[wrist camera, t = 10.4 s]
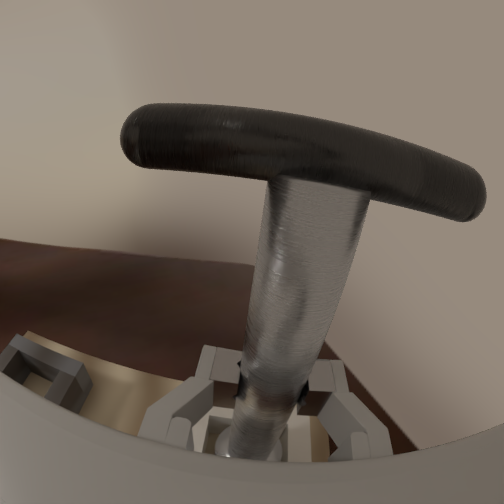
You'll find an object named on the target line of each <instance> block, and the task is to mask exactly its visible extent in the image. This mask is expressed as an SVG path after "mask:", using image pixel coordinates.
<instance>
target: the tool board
mask: <svg viewBox="0 0 504 504" xmlns="http://www.w3.org/2000/svg"><path fill="white" fill-rule="evenodd" d="M0 371H1V372H2V373H4V374H5V375H7V376H8V377H10V378H11V379H13V380H14V381H16V382H18V383H19V384H21V385H23V386H24V387H26V388H28V389H29V390H31V391H33V392H35V393H36V394H38V395H40V396H42V397H44V398H46V399H47V400H49V401H51V402H53V403H55V404H57V405H59V406H61V407H63V408H65V409H68V410H70V411H72V412H74V413H76V414H78V415H81V416H83V417H85V418H88V419H90V420H92V421H95V422H97V423H100V424H103V425H105V426H108V427H110V428H113V429H116V430H119V431H122V432H125V433H128V434H131V435H134V436H137V435H138V432H139V430H140V427H141V424H142V421H143V419H144V416H145V413H146V410H147V408H148V407H150V406H151V405H152V404H154V403H155V402H157V401H158V400H159V399H161V398H162V397H164V396H165V395H166V394H168V393H169V392H170V391H172V390H173V389H175V388H176V387H177V386H179V385H180V384H181V383H183V382H184V381H179V380H175V379H170V378H166V377H162V376H157V375H153V374H150V373H146V372H142V371H138V370H135V369H131V368H128V367H124V366H121V365H117V364H114V363H111V362H108V361H105V360H102V359H99V358H96V357H93V356H90V355H87V354H84V353H81V352H79V351H76V350H73V349H71V348H68V347H66V346H63V345H61V344H58V343H56V342H53V341H51V340H48V339H46V338H44V337H41V336H39V335H37V334H35V333H32V332H30V331H27V332H26V334H25V335H24V336H21V335H19V334H16V335H15V337H14V338H13V339H12V340H11V342H10V343H9V344H8V345H7V347H6V348H5V349H4V350H3V352H2V353H1V354H0ZM295 407H297V404H296V406H295ZM309 417H310V436H311V460H312V462H328V458H329V457H330V450H329V438H328V432H327V431H326V429H325V428H324V427H323V425H322V424H321V422H320V421H319V419H318V418H317V416H309ZM219 435H220V434H215V433H209V436H208V441H207V446H206V452H205V453H207V454H213V455H215V444H216V441H217V438H218V437H219Z"/></svg>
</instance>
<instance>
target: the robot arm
mask: <svg viewBox="0 0 504 504" xmlns="http://www.w3.org/2000/svg"><path fill="white" fill-rule="evenodd" d="M241 357H242V351H237V350H231V349H225V348H220V347H214V346H208V345H204V347H203V349H202V352H201V356H200V359H199V363H198V366H197V370H196V374H195V377H189V378H188V379H187V380H185V381H184V382H183V383H181V384H180V385H179V386H177V387H176V388H175V389H173V390H172V391H170V392H169V393H168V394H166V395H165V396H164V397H162V398H161V399H159V400H158V401H157V402H155V403H154V404H152V405H151V406H150V407H148V408H147V410H146V413H145V416H144V419H143V421H142V424H141V427H140V430H139V432H138V435H137V436H134V435H131V434H128V433H125V432H122V431H119V430H116V429H113V428H110V427H108V426H105V425H103V424H100V423H97V422H95V421H92V420H90V419H88V418H85V417H83V416H81V415H78V414H76V413H74V412H72V411H70V410H68V409H65V408H63V407H61V406H59V405H57V404H55V403H53V402H51V401H49V400H47V399H46V398H44V397H42V396H40V395H38V394H36V393H35V392H33V391H31V390H29V389H28V388H26V387H24V386H23V385H21V384H19V383H18V382H16V381H14V380H13V379H11V378H10V377H8V376H7V375H5V374H4V373H2V372H1V371H0V504H504V423H503V424H501V425H498V426H496V427H493V428H491V429H488V430H486V431H483V432H480V433H478V434H475V435H472V436H469V437H466V438H463V439H460V440H457V441H453V442H450V443H446V444H443V445H439V446H436V447H431V448H427V449H423V450H418V451H413V452H408V453H403V454H398V455H393V451H392V446H391V441H390V436H389V432H388V428H387V427H386V426H385V425H384V424H383V423H382V422H381V421H380V420H379V419H378V418H377V417H376V416H375V415H374V414H373V413H372V412H371V411H370V410H369V409H368V408H367V407H366V406H365V405H364V404H363V403H362V402H361V401H360V400H359V399H358V398H357V397H356V396H355V395H354V394H353V392H349V389H348V384H347V379H346V374H345V369H344V364H343V362H342V360H328V359H316V361H315V364H314V366H313V368H312V371H311V373H310V375H309V377H308V380H307V382H306V384H305V386H304V389H303V391H302V393H301V395H300V397H299V399H298V401H297V403H296V404H297V415H303V416H317V418H318V419H319V421H320V422H321V424H322V425H323V427H324V428H325V429H326V431H327V432H328V434H329V435H330V437H331V438H332V440H333V441H334V442H335V444H336V445H337V447H338V449H337V450H336V451H335V452H334V453H333V454H332V455H331V456H330V457H329V458H328V462H277V461H262V460H250V459H241V458H233V457H226V456H219V455H213V454H207V453H201V452H196V451H194V441H193V433H192V427H193V426H194V425H195V424H196V423H197V422H198V421H199V420H200V419H201V418H203V417H204V416H205V415H206V414H207V413H208V412H209V411H210V410H211V409H212V408H213V406H215V407H222V408H230V409H235V403H236V397H237V390H238V384H239V377H240V364H241Z"/></svg>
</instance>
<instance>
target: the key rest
mask: <svg viewBox="0 0 504 504" xmlns="http://www.w3.org/2000/svg"><path fill="white" fill-rule="evenodd" d="M233 410H234V409H230V408H222V407H215V406H213V408H212V409H211V410H210V411H209V412H208V413H207V414H206V415H205V416H204V417H203V418H201V419H200V420H199V421H198V422H197V423H196V424H195V425H194V426H193V427H192V433H193V441H194V451H196V452H201V453H205V452H206V446H207V441H208V436H209V433H215V434H221V433H222V432H223V431H224V430H225V429H226V428H228V427H230V426H231V423H232V416H233ZM279 440H280V442H281V445H282V458H281V460H280V462H312V460H311V436H310V417H309V416H303V415H297V407H295V408H294V410H293V412H292V414H291V416H290V418H289V420H288V422H287V424H286V426H285V428H284V430H283V431H282V433H281V435H280V437H279Z"/></svg>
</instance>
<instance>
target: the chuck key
mask: <svg viewBox="0 0 504 504" xmlns="http://www.w3.org/2000/svg"><path fill="white" fill-rule="evenodd" d="M120 143H121V147H122V150H123V152H124V154H125V156H126V157H127V158H128V159H129V160H130V161H131V162H132V163H134V164H135V165H137V166H139V167H143V168H148V169H160V170H174V171H186V172H198V173H207V174H217V175H226V176H234V177H242V178H250V179H257V180H265V181H267V188H266V195H265V202H264V208H263V215H262V223H261V229H260V236H259V244H258V250H257V257H256V263H255V270H254V277H253V284H252V291H251V297H250V304H249V311H248V317H247V324H246V331H245V337H244V344H243V351H242V357H241V364H240V377H239V384H238V390H237V397H236V403H235V409H234V410H233V416H232V423H231V426H230V427H228V428H226V429H225V430H224V431H223V432H222V433H221V434H220V435H219V437H218V438H217V441H216V444H215V455H219V456H226V457H233V458H241V459H250V460H262V461H277V462H280V460H281V458H282V445H281V442H280V440H279V437H280V435H281V433H282V431H283V430H284V428H285V426H286V424H287V422H288V420H289V418H290V416H291V414H292V412H293V410H294V408H295V406H296V403H297V401H298V399H299V397H300V395H301V393H302V391H303V389H304V386H305V384H306V382H307V380H308V377H309V375H310V373H311V371H312V368H313V366H314V364H315V361H316V359H317V357H318V354H319V352H320V349H321V347H322V345H323V342H324V340H325V337H326V335H327V332H328V329H329V327H330V324H331V322H332V319H333V316H334V314H335V311H336V308H337V305H338V303H339V300H340V297H341V294H342V291H343V288H344V286H345V283H346V280H347V277H348V273H349V271H350V268H351V264H352V261H353V258H354V255H355V252H356V248H357V245H358V242H359V238H360V235H361V231H362V228H363V224H364V221H365V217H366V213H367V209H368V205H369V202H370V199H371V200H375V201H380V202H384V203H388V204H393V205H397V206H401V207H405V208H409V209H413V210H417V211H421V212H425V213H429V214H432V215H436V216H439V217H444V218H447V219H450V220H454V221H457V222H468V221H471V220H473V219H475V218H476V217H478V216H479V214H480V213H481V212H482V210H483V209H484V206H485V203H486V188H485V184H484V181H483V179H482V177H481V176H480V174H479V173H478V172H477V171H476V170H475V169H474V168H472V167H470V166H469V165H467V164H464V163H462V162H460V161H457V160H455V159H452V158H450V157H448V156H445V155H442V154H440V153H437V152H435V151H432V150H430V149H427V148H424V147H421V146H419V145H416V144H413V143H409V142H407V141H404V140H401V139H397V138H394V137H391V136H388V135H384V134H381V133H377V132H374V131H370V130H366V129H362V128H359V127H355V126H351V125H346V124H342V123H338V122H334V121H329V120H324V119H319V118H314V117H309V116H304V115H298V114H292V113H286V112H279V111H272V110H264V109H255V108H247V107H236V106H224V105H210V104H185V103H183V104H182V103H157V104H155V103H154V104H148V105H144V106H142V107H140V108H138V109H137V110H135V111H133V112H132V113H131V114H130V115H129V116H128V117H127V119H126V121H125V122H124V124H123V126H122V129H121V135H120Z"/></svg>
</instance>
